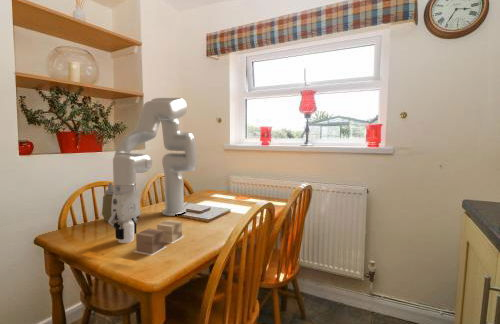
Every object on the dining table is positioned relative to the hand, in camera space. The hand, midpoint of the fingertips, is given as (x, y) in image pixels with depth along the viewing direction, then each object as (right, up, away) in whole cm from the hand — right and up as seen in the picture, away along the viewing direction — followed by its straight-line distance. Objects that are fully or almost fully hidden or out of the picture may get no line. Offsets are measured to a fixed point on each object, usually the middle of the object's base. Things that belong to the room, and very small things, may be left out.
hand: (126, 235), depth 105 cm
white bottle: (0, -3, 0) cm, 3 cm away
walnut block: (+12, -3, -8) cm, 15 cm away
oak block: (+16, -2, +2) cm, 16 cm away
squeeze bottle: (-20, 0, +28) cm, 35 cm away
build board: (+14, -4, -3) cm, 14 cm away
